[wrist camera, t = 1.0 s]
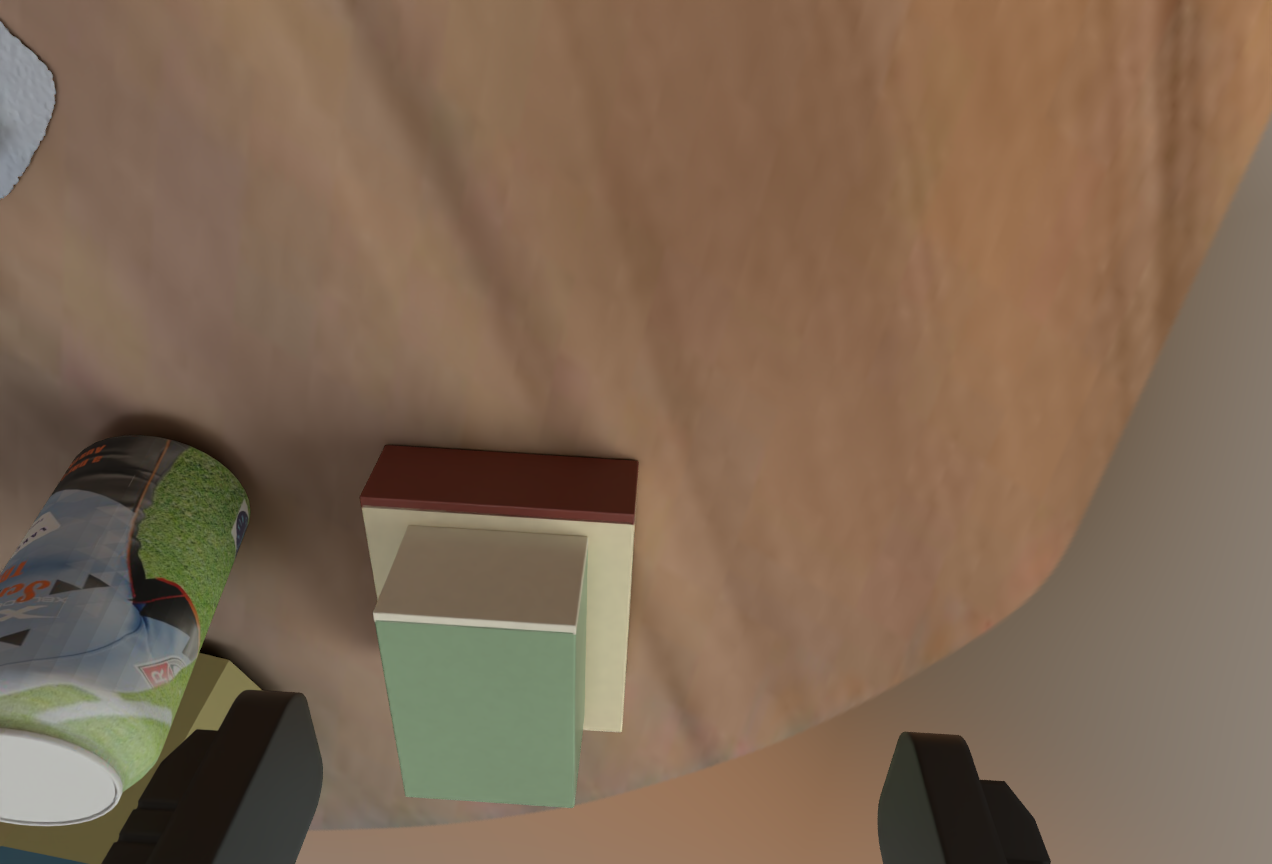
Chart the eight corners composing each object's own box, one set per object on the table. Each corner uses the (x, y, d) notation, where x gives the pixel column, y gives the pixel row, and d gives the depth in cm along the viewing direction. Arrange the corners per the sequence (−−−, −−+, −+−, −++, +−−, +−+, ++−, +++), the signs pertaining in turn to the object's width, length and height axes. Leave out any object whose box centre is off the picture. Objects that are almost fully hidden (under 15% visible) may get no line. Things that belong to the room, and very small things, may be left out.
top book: (407, 524, 28) (371, 612, 25) (588, 536, 28) (576, 626, 25) (431, 704, 34) (404, 797, 30) (584, 714, 34) (574, 809, 30)
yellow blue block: (256, 623, 36) (31, 1032, 23) (318, 759, 41) (160, 1154, 28) (49, 628, 37) (-276, 1026, 24) (135, 761, 42) (-98, 1147, 29)
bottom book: (385, 444, 30) (358, 496, 28) (638, 460, 30) (635, 514, 28) (415, 659, 37) (396, 718, 34) (625, 673, 37) (621, 733, 34)
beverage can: (122, 382, 29) (-162, 652, 19) (319, 488, 32) (154, 779, 22) (70, 495, 32) (-200, 780, 22) (253, 585, 35) (81, 880, 25)
